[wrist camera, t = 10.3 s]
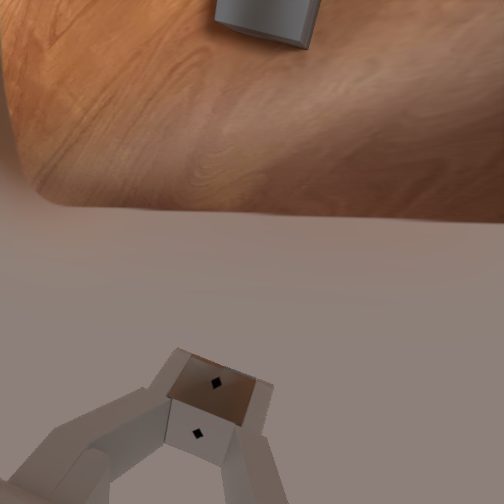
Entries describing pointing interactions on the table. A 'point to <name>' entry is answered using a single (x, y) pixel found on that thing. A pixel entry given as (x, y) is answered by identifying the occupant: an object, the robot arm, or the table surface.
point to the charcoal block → (271, 19)
